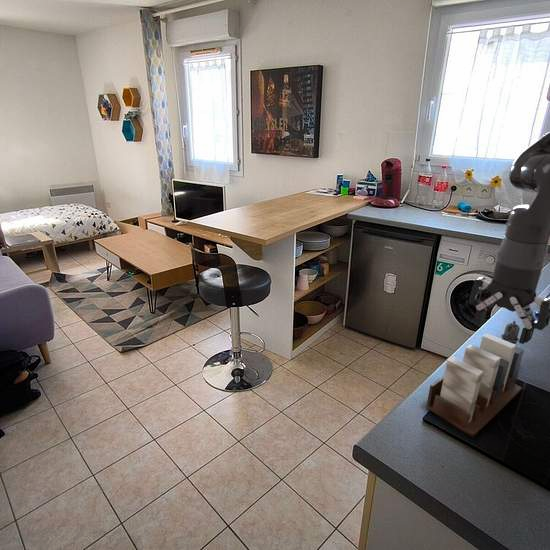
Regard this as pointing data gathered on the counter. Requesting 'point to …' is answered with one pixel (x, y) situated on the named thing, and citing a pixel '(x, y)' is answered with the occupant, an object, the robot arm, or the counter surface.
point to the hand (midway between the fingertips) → (500, 333)
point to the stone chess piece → (511, 333)
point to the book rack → (474, 389)
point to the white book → (499, 349)
